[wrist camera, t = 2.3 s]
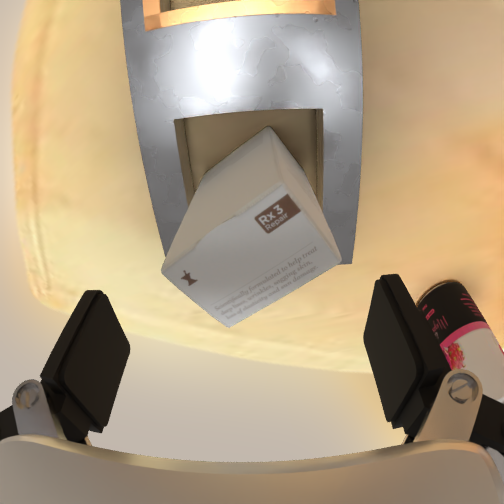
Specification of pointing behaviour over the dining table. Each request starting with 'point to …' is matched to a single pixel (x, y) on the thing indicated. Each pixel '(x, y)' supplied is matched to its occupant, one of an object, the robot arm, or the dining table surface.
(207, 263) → the skincare box
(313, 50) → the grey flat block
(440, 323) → the beverage can
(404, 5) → the dining table surface
